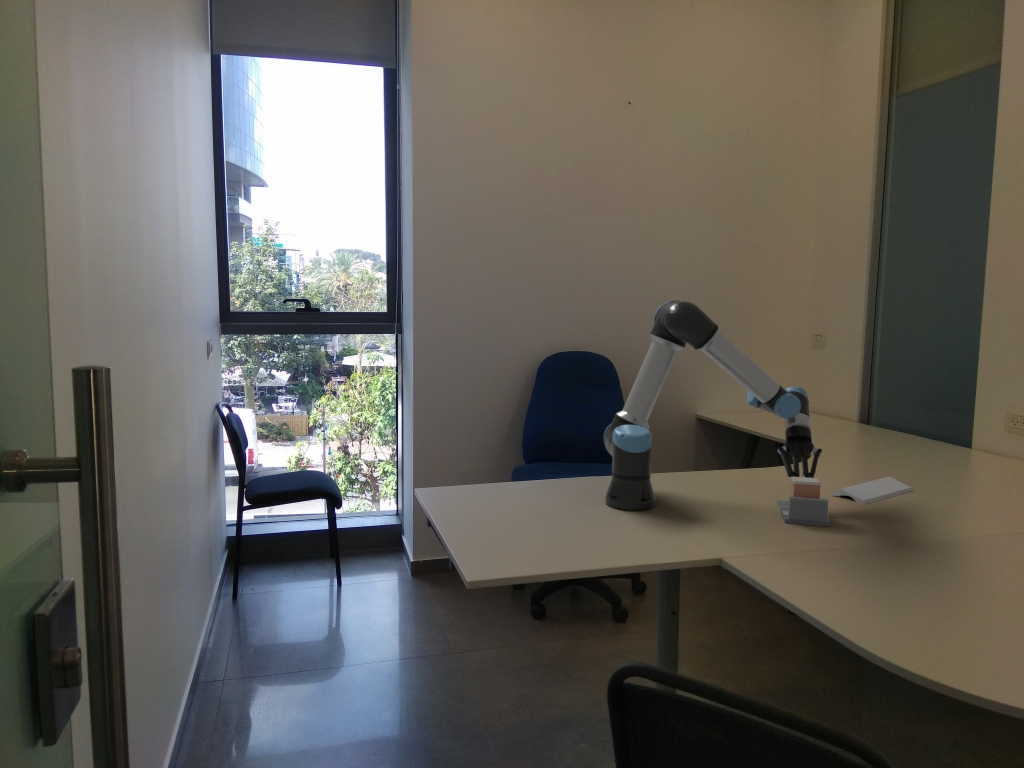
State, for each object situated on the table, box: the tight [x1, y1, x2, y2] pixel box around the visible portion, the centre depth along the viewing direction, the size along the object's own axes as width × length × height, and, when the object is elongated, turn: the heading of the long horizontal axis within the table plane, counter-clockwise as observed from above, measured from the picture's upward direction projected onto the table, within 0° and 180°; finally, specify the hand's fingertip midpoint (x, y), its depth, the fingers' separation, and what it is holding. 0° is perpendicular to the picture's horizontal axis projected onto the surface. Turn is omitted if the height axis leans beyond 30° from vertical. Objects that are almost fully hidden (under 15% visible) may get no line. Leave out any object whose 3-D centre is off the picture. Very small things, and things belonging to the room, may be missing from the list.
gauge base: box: [776, 495, 832, 528], centre depth 211 cm, size 12×19×7 cm, turn 166°
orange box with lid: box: [790, 477, 821, 499], centre depth 209 cm, size 7×5×10 cm
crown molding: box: [829, 476, 914, 505], centre depth 236 cm, size 29×12×4 cm, turn 125°
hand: (803, 496), depth 213 cm, fingers closed
